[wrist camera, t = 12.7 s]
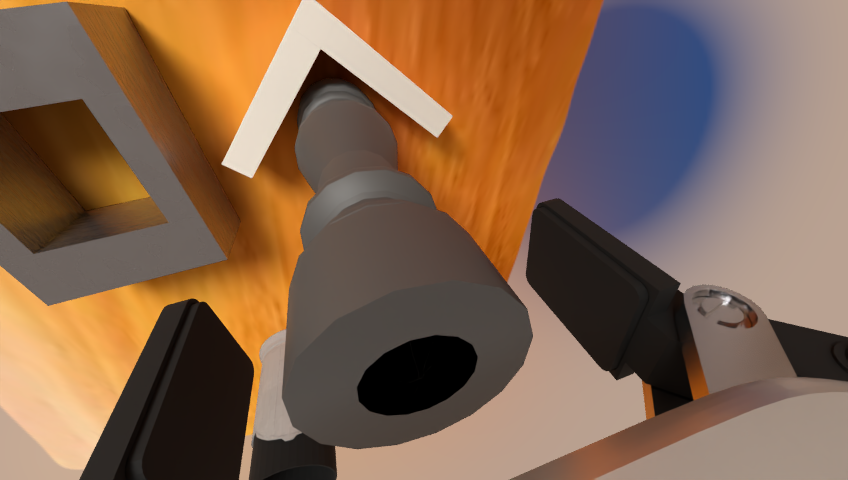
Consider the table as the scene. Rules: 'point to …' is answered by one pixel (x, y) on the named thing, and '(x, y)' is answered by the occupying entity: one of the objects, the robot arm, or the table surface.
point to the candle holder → (386, 292)
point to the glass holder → (283, 429)
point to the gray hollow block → (130, 133)
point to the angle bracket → (291, 67)
